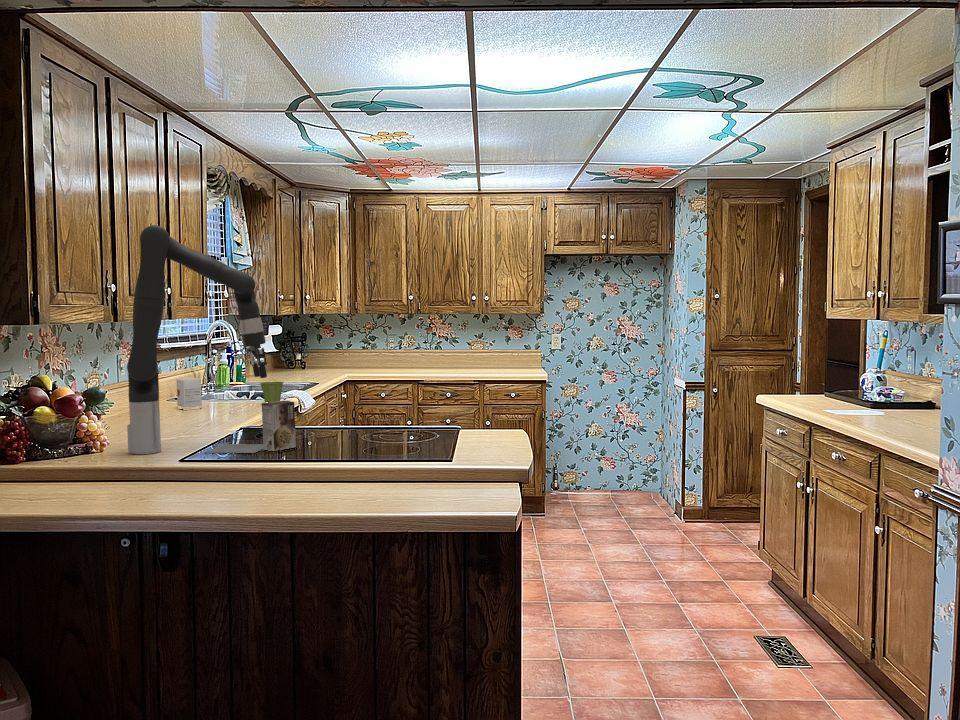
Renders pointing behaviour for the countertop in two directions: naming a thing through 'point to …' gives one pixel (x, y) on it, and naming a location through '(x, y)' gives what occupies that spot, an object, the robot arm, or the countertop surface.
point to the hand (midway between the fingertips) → (260, 377)
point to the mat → (237, 448)
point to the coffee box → (278, 425)
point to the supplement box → (189, 392)
